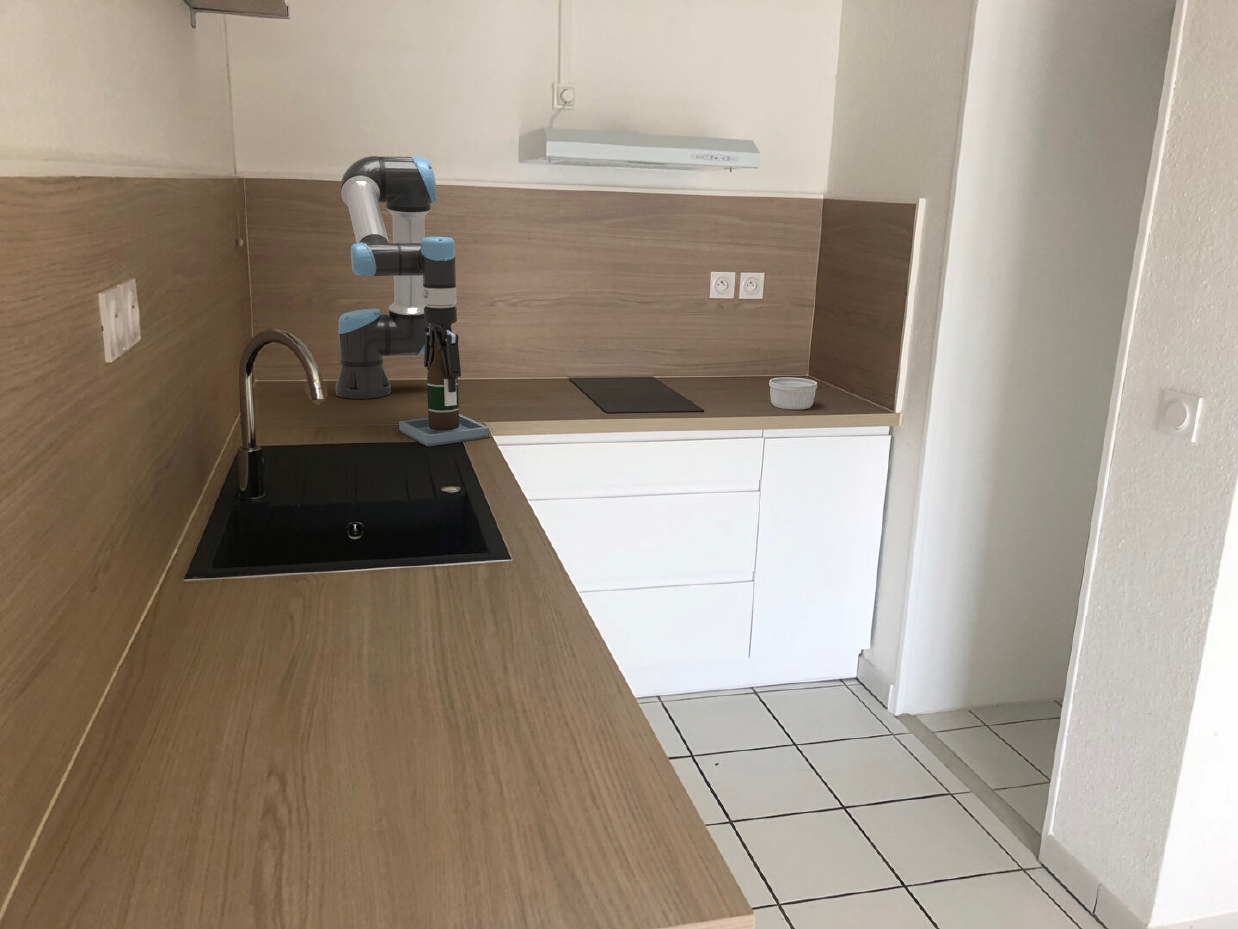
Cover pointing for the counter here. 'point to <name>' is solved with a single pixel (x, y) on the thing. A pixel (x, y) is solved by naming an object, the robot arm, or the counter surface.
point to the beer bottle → (440, 396)
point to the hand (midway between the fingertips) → (443, 401)
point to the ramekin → (792, 393)
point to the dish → (443, 431)
